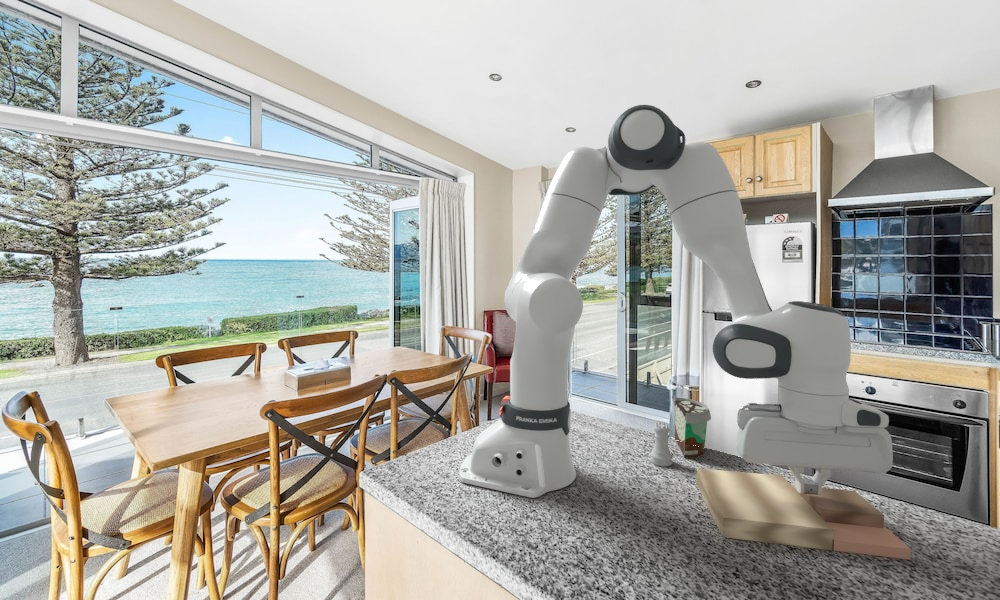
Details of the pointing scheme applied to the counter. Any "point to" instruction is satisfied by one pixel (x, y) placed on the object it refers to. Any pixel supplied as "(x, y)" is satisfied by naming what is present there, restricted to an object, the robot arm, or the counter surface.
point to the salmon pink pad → (867, 540)
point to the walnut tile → (845, 508)
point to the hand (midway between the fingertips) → (808, 492)
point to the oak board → (762, 509)
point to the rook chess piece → (661, 446)
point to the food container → (690, 426)
